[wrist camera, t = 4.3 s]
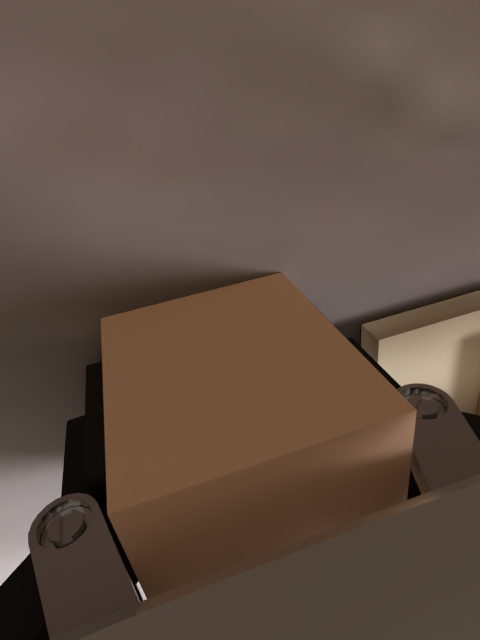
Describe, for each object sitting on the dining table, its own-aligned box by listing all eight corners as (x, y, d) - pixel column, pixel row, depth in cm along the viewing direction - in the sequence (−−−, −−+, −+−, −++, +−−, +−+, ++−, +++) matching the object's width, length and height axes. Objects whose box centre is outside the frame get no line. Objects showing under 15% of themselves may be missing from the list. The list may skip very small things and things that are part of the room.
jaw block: (100, 318, 11) (106, 514, 6) (281, 271, 12) (417, 409, 7) (147, 451, 14) (179, 666, 9) (293, 405, 15) (398, 576, 10)
